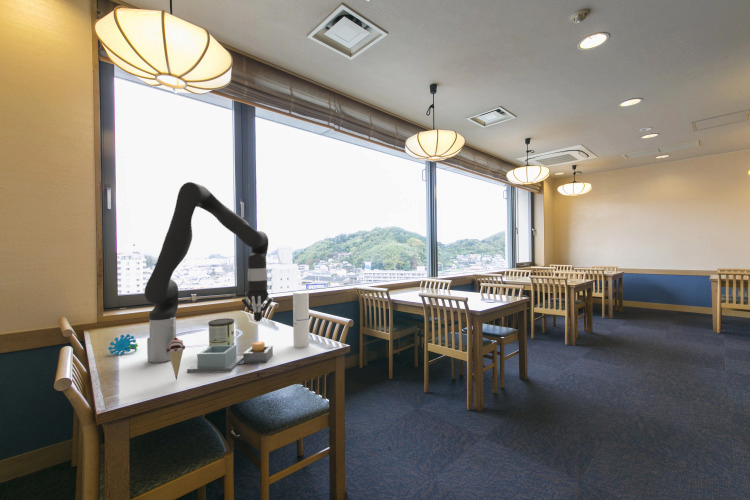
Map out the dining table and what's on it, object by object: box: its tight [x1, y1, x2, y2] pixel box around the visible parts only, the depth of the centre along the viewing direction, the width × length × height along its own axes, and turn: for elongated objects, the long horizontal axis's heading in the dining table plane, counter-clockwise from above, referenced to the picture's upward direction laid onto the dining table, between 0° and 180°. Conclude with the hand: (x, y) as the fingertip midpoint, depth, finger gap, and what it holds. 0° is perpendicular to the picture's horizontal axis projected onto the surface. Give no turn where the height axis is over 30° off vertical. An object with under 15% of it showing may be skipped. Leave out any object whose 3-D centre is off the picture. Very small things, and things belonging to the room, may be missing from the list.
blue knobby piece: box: [107, 333, 139, 356], centre depth 144 cm, size 11×6×10 cm
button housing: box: [242, 345, 274, 364], centre depth 133 cm, size 9×9×4 cm
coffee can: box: [207, 318, 235, 347], centre depth 141 cm, size 10×10×14 cm
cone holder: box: [186, 344, 244, 373], centre depth 127 cm, size 16×14×6 cm
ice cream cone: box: [166, 337, 186, 381], centre depth 112 cm, size 6×6×15 cm
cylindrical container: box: [292, 290, 310, 349], centre depth 151 cm, size 7×7×25 cm
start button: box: [251, 341, 266, 352], centre depth 133 cm, size 5×5×3 cm
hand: (258, 320), depth 133 cm, fingers closed
